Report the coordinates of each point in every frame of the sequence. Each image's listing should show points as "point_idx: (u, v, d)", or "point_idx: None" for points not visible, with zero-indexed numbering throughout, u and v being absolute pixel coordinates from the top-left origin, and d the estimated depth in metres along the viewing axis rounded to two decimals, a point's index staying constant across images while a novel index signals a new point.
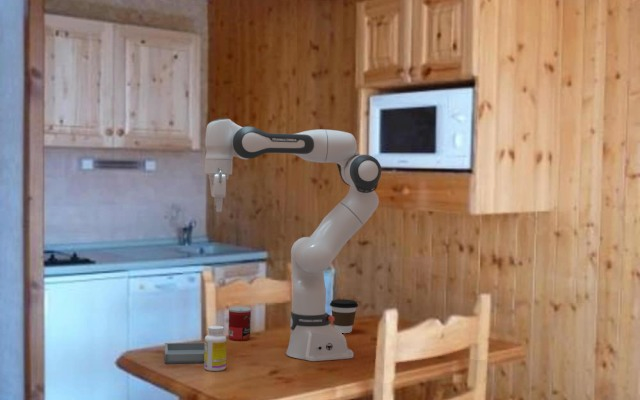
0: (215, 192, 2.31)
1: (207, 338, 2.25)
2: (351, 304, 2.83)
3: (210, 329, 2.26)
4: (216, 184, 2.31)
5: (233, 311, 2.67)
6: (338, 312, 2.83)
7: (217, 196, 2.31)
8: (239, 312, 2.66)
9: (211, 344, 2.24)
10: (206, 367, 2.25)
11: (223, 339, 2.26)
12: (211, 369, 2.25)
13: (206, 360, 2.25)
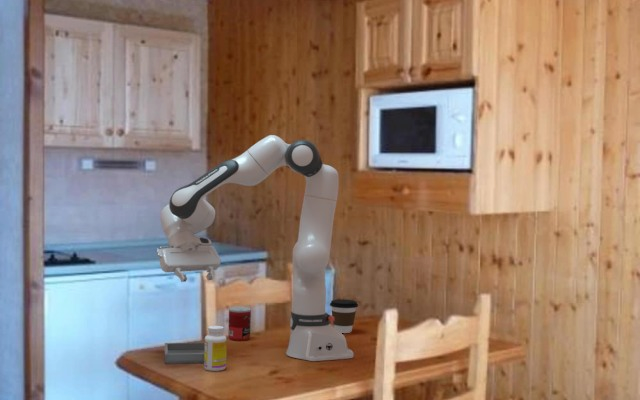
0: (161, 268, 2.35)
1: (207, 338, 2.25)
2: (351, 304, 2.83)
3: (210, 329, 2.26)
4: (160, 261, 2.36)
5: (233, 311, 2.67)
6: (338, 312, 2.83)
7: (164, 270, 2.34)
8: (239, 312, 2.66)
9: (211, 344, 2.24)
10: (206, 367, 2.25)
11: (223, 339, 2.26)
12: (211, 369, 2.25)
13: (206, 360, 2.25)
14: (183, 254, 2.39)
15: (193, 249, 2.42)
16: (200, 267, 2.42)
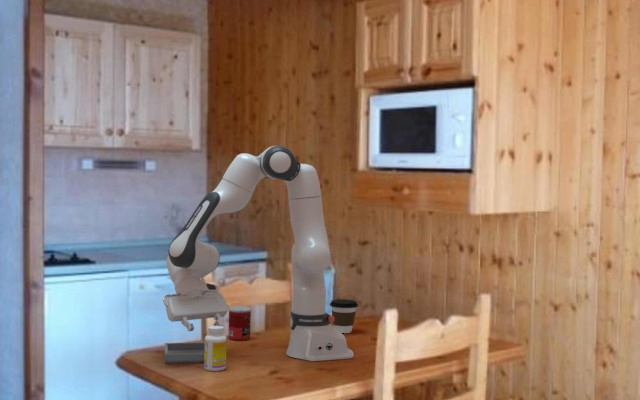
0: (168, 317, 2.31)
1: (207, 338, 2.25)
2: (351, 304, 2.83)
3: (210, 329, 2.26)
4: (166, 310, 2.32)
5: (233, 311, 2.67)
6: (338, 312, 2.83)
7: (171, 319, 2.30)
8: (239, 312, 2.66)
9: (211, 344, 2.24)
10: (206, 367, 2.25)
11: (223, 339, 2.26)
12: (211, 369, 2.25)
13: (206, 360, 2.25)
14: (190, 302, 2.35)
15: (200, 296, 2.38)
16: (207, 315, 2.38)
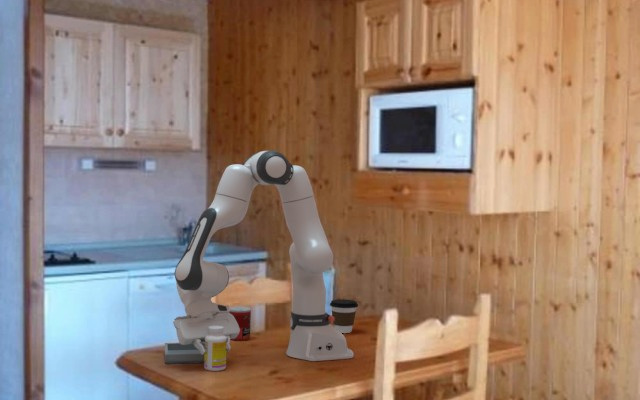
0: (179, 340, 2.25)
1: (207, 338, 2.25)
2: (351, 304, 2.83)
3: (210, 329, 2.26)
4: (177, 333, 2.27)
5: (233, 311, 2.67)
6: (338, 312, 2.83)
7: (182, 343, 2.24)
8: (239, 312, 2.66)
9: (211, 344, 2.24)
10: (206, 367, 2.25)
11: (223, 339, 2.26)
12: (211, 369, 2.25)
13: (206, 360, 2.25)
14: (201, 324, 2.30)
15: (211, 318, 2.32)
16: None
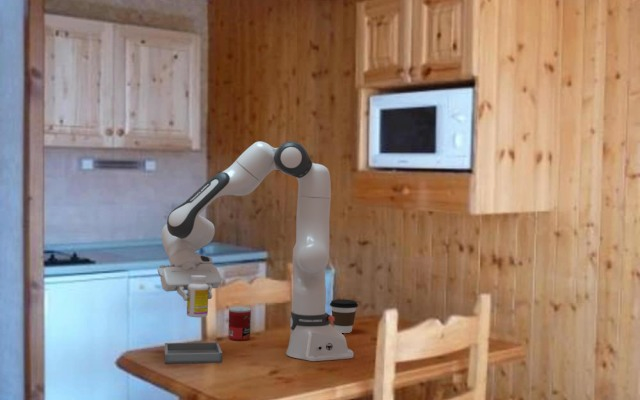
0: (162, 287, 2.35)
1: (190, 286, 2.36)
2: (351, 304, 2.83)
3: (193, 277, 2.36)
4: (161, 280, 2.37)
5: (233, 311, 2.67)
6: (338, 312, 2.83)
7: (165, 289, 2.35)
8: (239, 312, 2.66)
9: (194, 292, 2.35)
10: (188, 313, 2.36)
11: (205, 287, 2.36)
12: (193, 315, 2.35)
13: (188, 307, 2.36)
14: (184, 273, 2.40)
15: (194, 268, 2.42)
16: None
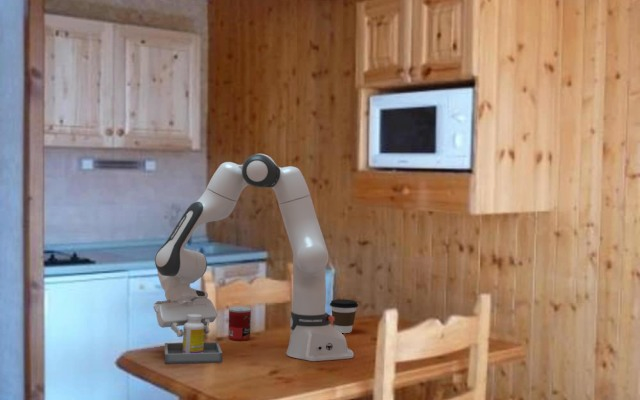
0: (158, 323, 2.39)
1: (186, 325, 2.39)
2: (351, 304, 2.83)
3: (189, 317, 2.39)
4: (157, 316, 2.40)
5: (233, 311, 2.67)
6: (338, 312, 2.83)
7: (161, 325, 2.38)
8: (239, 312, 2.66)
9: (189, 331, 2.38)
10: None
11: (201, 326, 2.39)
12: None
13: (184, 346, 2.39)
14: (180, 308, 2.43)
15: (189, 303, 2.45)
16: None
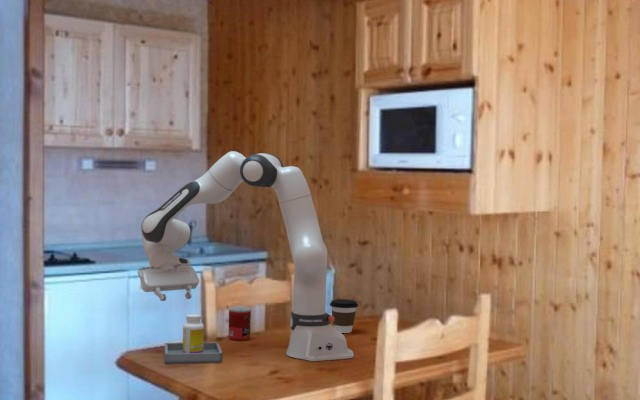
0: (142, 288, 2.48)
1: (185, 325, 2.39)
2: (351, 304, 2.83)
3: (188, 317, 2.39)
4: None
5: (233, 311, 2.67)
6: (338, 312, 2.83)
7: (145, 290, 2.47)
8: (239, 312, 2.66)
9: (189, 331, 2.38)
10: None
11: (200, 326, 2.39)
12: None
13: (184, 346, 2.39)
14: (163, 274, 2.53)
15: (172, 269, 2.55)
16: (179, 286, 2.55)
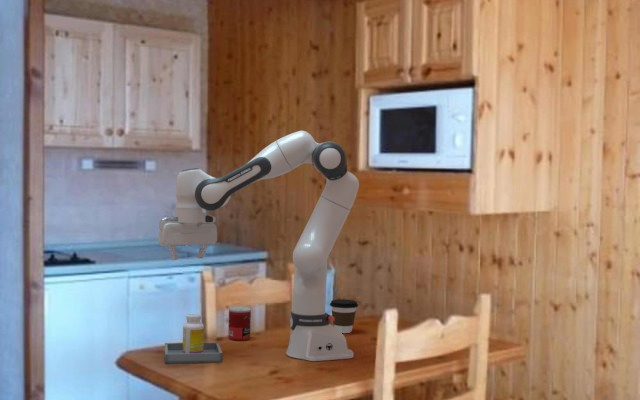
0: (158, 240, 2.42)
1: (185, 325, 2.39)
2: (351, 304, 2.83)
3: (188, 317, 2.39)
4: (159, 233, 2.42)
5: (233, 311, 2.67)
6: (338, 312, 2.83)
7: (160, 244, 2.42)
8: (239, 312, 2.66)
9: (189, 331, 2.38)
10: None
11: (200, 326, 2.39)
12: None
13: (184, 346, 2.39)
14: (183, 231, 2.45)
15: (195, 227, 2.46)
16: None
